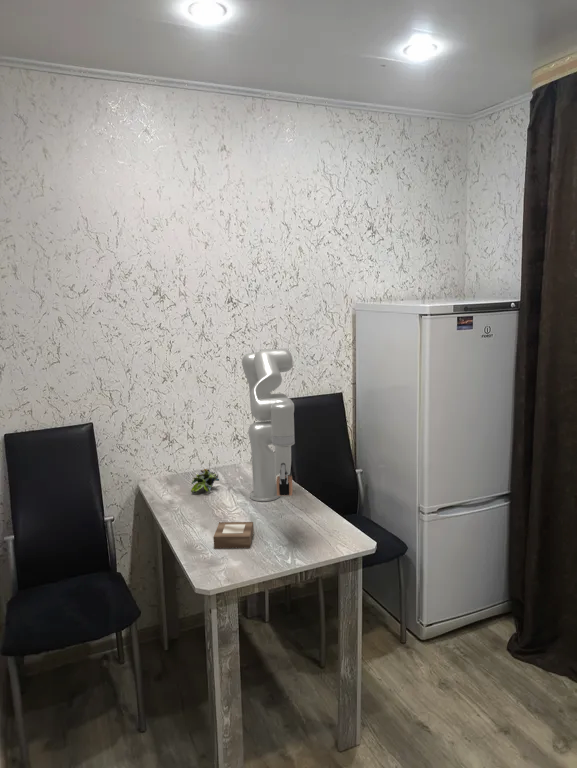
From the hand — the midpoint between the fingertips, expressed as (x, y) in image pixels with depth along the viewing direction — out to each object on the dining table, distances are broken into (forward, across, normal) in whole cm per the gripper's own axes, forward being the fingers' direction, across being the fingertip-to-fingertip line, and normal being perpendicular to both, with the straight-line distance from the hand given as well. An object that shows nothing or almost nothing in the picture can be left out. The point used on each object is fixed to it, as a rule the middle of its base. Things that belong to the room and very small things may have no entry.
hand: (284, 491), depth 189 cm
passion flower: (+18, -48, -36) cm, 62 cm away
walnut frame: (+17, +1, -18) cm, 25 cm away
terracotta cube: (+1, 0, 0) cm, 1 cm away
